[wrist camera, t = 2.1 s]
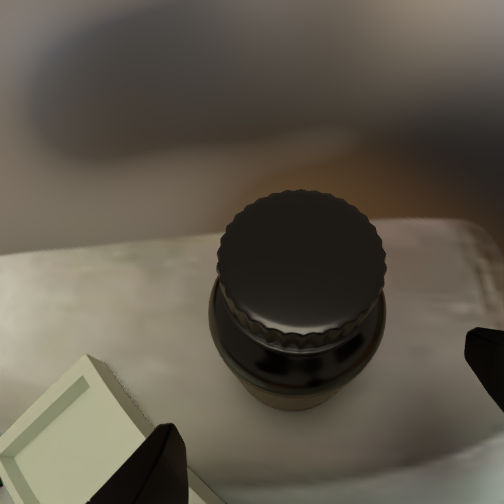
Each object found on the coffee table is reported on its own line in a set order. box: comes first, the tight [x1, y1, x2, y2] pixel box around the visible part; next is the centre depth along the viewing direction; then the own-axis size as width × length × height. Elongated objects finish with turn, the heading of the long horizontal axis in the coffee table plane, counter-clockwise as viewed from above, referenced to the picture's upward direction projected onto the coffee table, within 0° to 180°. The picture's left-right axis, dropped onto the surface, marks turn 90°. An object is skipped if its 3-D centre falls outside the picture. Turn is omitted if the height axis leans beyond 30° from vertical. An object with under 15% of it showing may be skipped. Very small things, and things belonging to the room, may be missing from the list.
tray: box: [0, 354, 226, 504], centre depth 13 cm, size 13×13×2 cm
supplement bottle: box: [208, 189, 387, 411], centre depth 14 cm, size 7×7×12 cm
